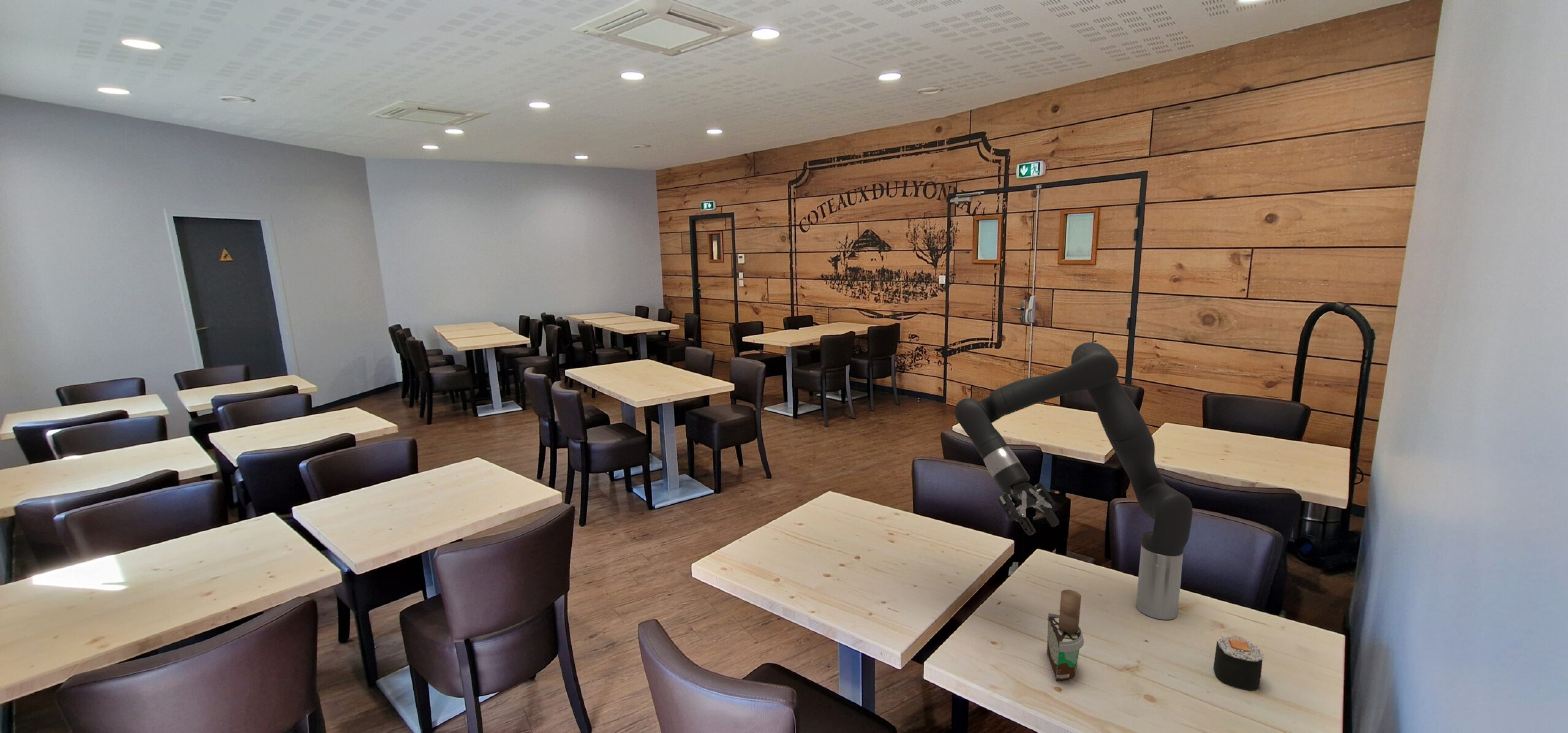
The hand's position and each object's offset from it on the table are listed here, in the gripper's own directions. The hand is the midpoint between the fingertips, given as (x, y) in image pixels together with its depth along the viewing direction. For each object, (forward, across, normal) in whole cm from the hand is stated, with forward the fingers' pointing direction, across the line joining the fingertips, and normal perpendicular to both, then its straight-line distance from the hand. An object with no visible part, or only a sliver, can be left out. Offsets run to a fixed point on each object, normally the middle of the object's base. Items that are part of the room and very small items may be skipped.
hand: (1044, 529), depth 146 cm
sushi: (+43, +24, -2) cm, 49 cm away
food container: (+27, -4, +13) cm, 31 cm away
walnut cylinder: (+20, -4, +6) cm, 21 cm away
